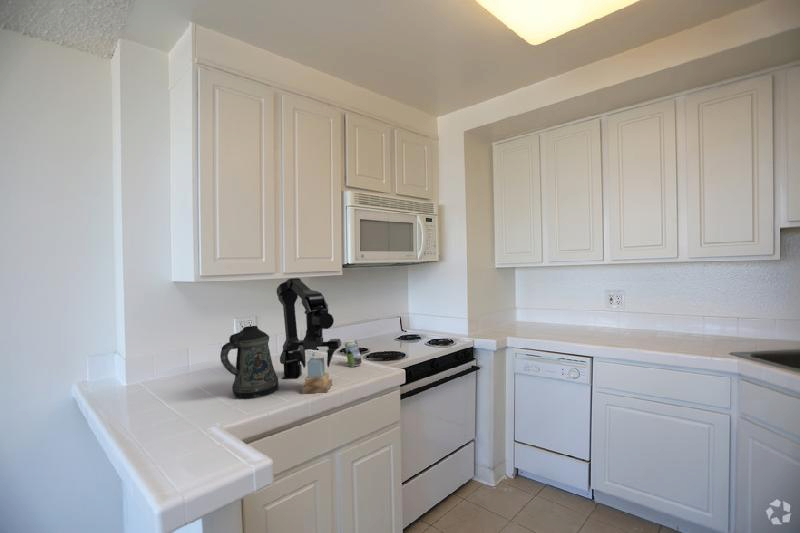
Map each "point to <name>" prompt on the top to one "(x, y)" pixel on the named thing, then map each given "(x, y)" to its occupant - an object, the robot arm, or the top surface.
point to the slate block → (316, 367)
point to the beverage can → (352, 353)
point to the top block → (317, 381)
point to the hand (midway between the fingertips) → (316, 367)
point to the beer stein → (250, 364)
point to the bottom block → (317, 388)
